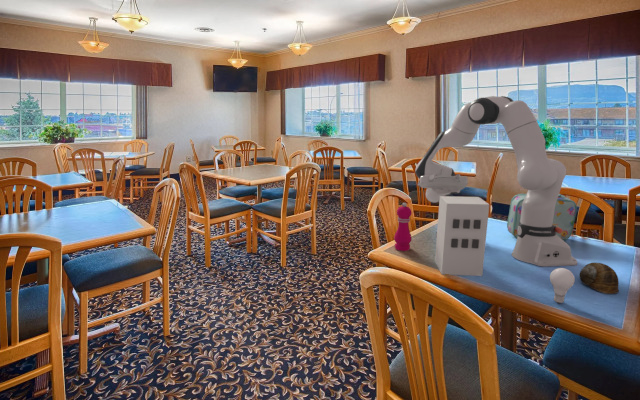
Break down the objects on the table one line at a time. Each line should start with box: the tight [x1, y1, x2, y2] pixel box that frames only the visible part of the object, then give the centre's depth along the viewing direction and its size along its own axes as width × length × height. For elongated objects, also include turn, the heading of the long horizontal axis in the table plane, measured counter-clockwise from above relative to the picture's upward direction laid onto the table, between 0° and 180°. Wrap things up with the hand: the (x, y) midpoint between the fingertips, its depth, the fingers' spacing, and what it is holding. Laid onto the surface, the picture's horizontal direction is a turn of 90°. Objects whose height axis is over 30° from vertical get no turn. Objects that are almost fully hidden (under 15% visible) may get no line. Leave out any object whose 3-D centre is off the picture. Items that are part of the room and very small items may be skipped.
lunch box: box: [506, 193, 577, 242], centre depth 175 cm, size 27×10×21 cm, turn 85°
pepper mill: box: [393, 202, 412, 252], centre depth 161 cm, size 7×7×20 cm
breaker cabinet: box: [434, 195, 490, 277], centre depth 139 cm, size 14×13×26 cm
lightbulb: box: [549, 267, 576, 304], centre depth 116 cm, size 6×6×11 cm
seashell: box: [579, 262, 620, 295], centre depth 127 cm, size 11×9×8 cm
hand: (447, 175), depth 163 cm, fingers open, 8 cm apart
